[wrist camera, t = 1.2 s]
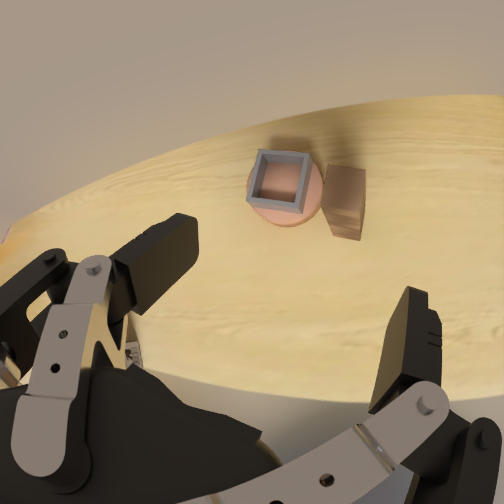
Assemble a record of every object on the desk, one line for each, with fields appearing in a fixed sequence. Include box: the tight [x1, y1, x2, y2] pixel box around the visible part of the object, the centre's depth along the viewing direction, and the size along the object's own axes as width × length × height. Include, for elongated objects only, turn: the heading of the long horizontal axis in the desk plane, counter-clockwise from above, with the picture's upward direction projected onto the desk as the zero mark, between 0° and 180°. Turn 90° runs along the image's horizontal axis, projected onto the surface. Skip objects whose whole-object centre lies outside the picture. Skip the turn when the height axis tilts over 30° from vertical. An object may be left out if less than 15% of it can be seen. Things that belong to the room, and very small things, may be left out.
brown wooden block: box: [320, 165, 365, 241], centre depth 31 cm, size 4×4×13 cm
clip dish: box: [246, 149, 324, 227], centre depth 38 cm, size 10×10×6 cm
